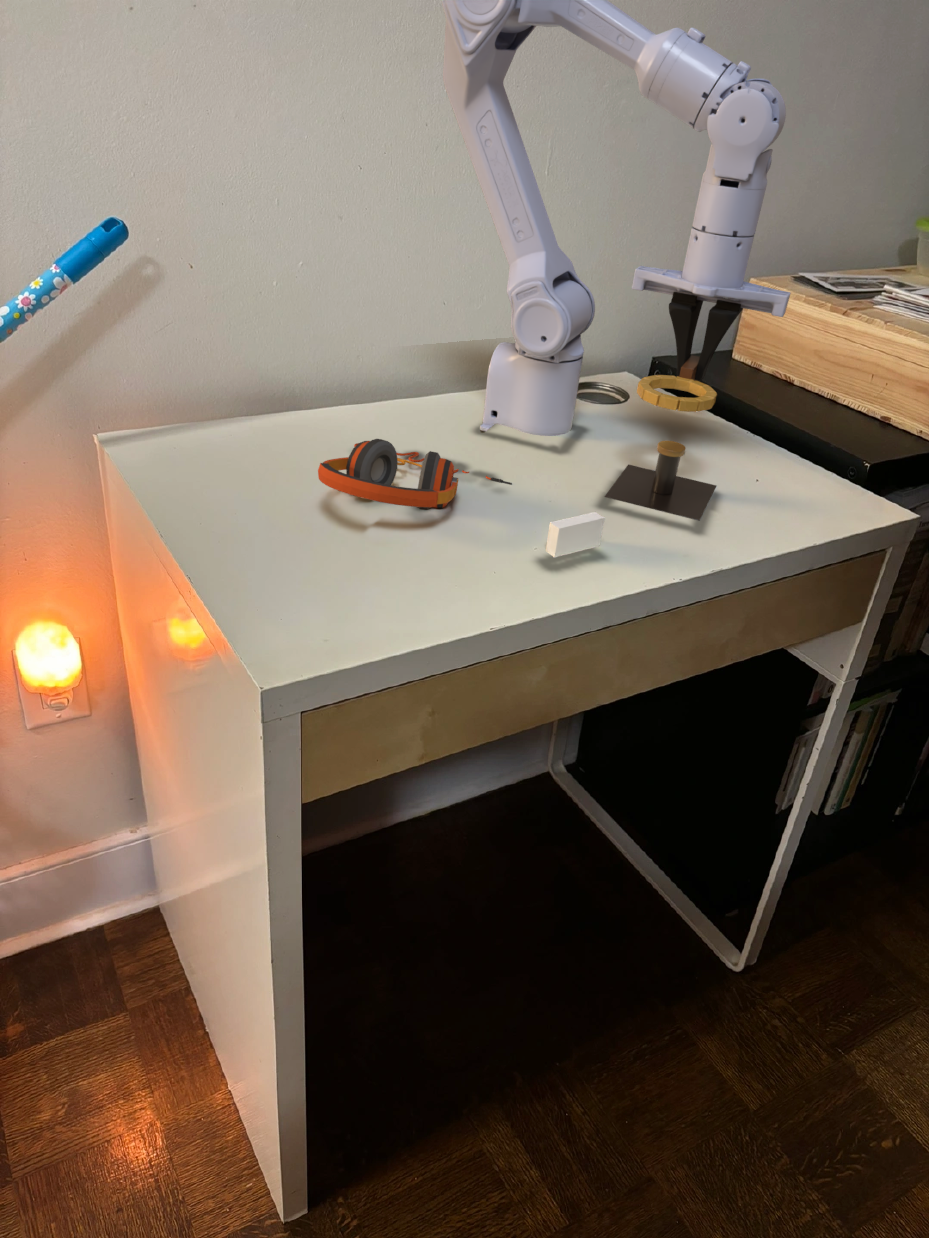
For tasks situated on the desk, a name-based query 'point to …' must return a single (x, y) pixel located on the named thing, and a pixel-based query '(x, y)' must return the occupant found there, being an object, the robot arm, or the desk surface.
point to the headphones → (391, 476)
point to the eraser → (574, 534)
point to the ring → (681, 383)
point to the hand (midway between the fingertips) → (690, 375)
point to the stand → (663, 486)
